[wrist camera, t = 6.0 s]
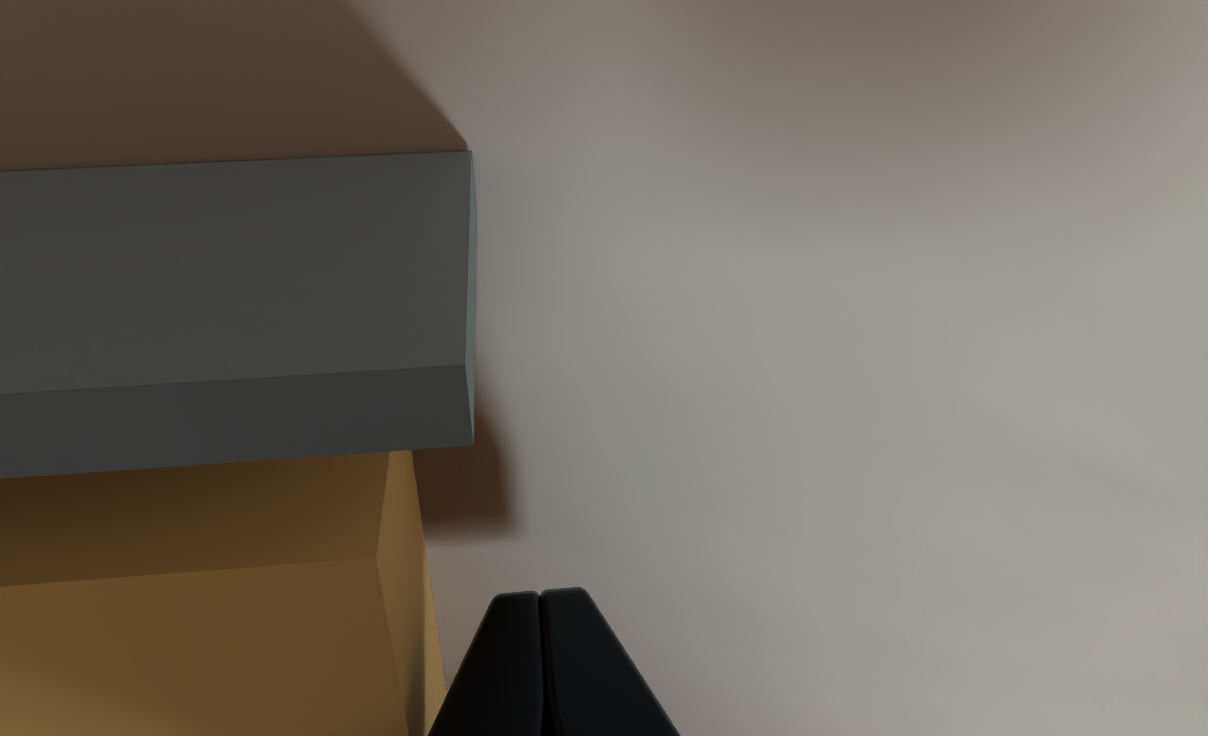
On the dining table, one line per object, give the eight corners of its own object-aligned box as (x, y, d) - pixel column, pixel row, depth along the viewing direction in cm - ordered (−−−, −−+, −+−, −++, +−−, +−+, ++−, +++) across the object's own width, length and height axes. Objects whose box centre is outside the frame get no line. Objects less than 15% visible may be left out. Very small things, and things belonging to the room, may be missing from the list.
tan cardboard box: (453, 714, 11) (447, 938, 9) (98, 747, 11) (6, 987, 9) (402, 354, 8) (376, 557, 6) (-79, 383, 8) (-276, 606, 6)
